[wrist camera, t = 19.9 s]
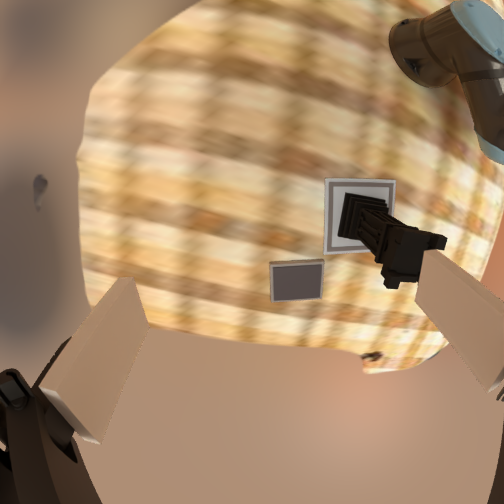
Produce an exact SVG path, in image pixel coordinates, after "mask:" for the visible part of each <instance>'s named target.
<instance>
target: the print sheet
mask: <svg viewBox="0 0 504 504" xmlns="http://www.w3.org/2000/svg"><path fill="white" fill-rule="evenodd" d="M395 189H396V180H388V179H360V178H325V218H324V247H323V255H326V254H344V253H361V252H371V251H370V250H369V249H368V248H367V247H366V246H365V245H364V244H363V243H362V242H361V241H360V240H351V239H348V238H343V237H338V236H337V234H338V229H339V224H340V219H341V213H342V208H343V202H344V197H345V192H346V193H352V194H358V195H364V196H369V197H375V198H380V199H384V200H386V202H385V203H387V207H388V208H389V212H388V214H389V215H391V216H392V217H393V216H394V204H395Z"/></svg>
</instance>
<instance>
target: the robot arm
mask: <svg viewBox="0 0 504 504" xmlns="http://www.w3.org/2000/svg"><path fill="white" fill-rule="evenodd" d="M389 44H390V48H391V52H392V54H393V56H394V59H395V60H396V62H397V64H398V65H399V67H400V68H401V69H402V70H403V72H404V73H405V74H406V75H407V76H408V77H409V78H411V79H412V80H413V81H415V82H416V83H418V84H420V85H422V86H424V87H428V88H436V87H441V86H444V85H446V84H448V83H449V82H450V81H451V80H452V79H453V78H454V77H456V76H457V75H458V76H459V79H460V81H461V84H462V87H463V90H464V93H465V96H466V99H467V102H468V105H469V108H470V112H471V115H472V119H473V122H474V130H475V132H476V134H477V137H478V141H479V145H480V148H481V150H482V151H483V153H484V154H485V155H486V156H487V157H488V158H489V159H491V160H493V161H494V162H497V163H499V164H502V165H504V20H503V19H502V18H501V16H500V15H499V14H498V13H496V12H495V11H494V10H493V9H492V8H491V7H490V6H488V5H487V4H486V3H484V2H482V1H480V0H460V1H454V2H452V3H451V4H450V5H448V6H446V7H444V8H442V9H440V10H438V11H436V12H434V13H433V14H431V15H429V16H427V17H426V18H416V19H405V20H402V21H400V22H399V23H397V24H396V25H395V26H394V27H393V28H392V29H391V31H390V35H389ZM495 78H497V79H495ZM484 79H486V80H484ZM475 80H477V81H475ZM469 81H470V82H469ZM415 302H416V303H417V305H418V306H419V307H420V308H421V309H422V310H423V312H424V313H425V314H426V315H427V316H428V317H429V319H430V320H431V321H432V322H433V323H434V324H435V326H436V327H437V328H438V329H439V330H440V332H441V333H442V334H443V335H444V337H445V338H446V339H447V340H448V342H449V343H450V344H451V345H452V347H453V348H454V349H455V350H456V351H457V353H458V354H459V355H460V357H461V358H462V360H463V361H464V362H465V364H466V365H467V366H468V368H469V369H470V370H471V372H472V373H473V375H474V376H475V377H476V379H477V380H478V382H479V383H480V384H481V386H482V387H483V389H484V390H485V392H486V393H488V392H490V391H491V390H493V389H495V388H496V387H498V386H499V384H500V383H501V381H502V380H503V378H504V302H503V301H502V300H501V299H500V298H498V297H497V296H496V295H495V294H494V293H492V292H491V291H490V290H489V289H487V288H486V287H485V286H484V285H483V284H481V283H480V282H479V281H478V280H476V279H475V278H474V277H473V276H471V275H470V274H469V273H467V272H466V271H465V270H464V269H462V268H461V267H460V266H458V265H457V264H456V263H454V262H453V261H451V260H450V259H449V258H447V257H446V256H445V255H443V254H442V253H440V252H439V251H437V250H436V249H435V250H427V251H424V256H423V262H422V268H421V273H420V278H419V283H418V288H417V293H416V297H415ZM149 328H150V327H149V324H148V321H147V318H146V316H145V313H144V310H143V306H142V303H141V300H140V297H139V294H138V291H137V287H136V284H135V280H134V277H123V278H118V279H117V281H116V282H115V283H114V284H113V285H112V287H111V288H110V289H109V290H108V291H107V293H106V294H105V295H104V296H103V298H102V299H101V300H100V301H99V303H98V304H97V305H96V306H95V308H94V309H93V310H92V311H91V313H90V314H89V315H88V317H87V318H86V319H85V320H84V322H83V323H82V325H81V326H80V327H79V329H78V330H77V331H76V333H75V334H74V335H73V337H70V338H69V339H67V340H66V341H65V342H64V343H63V344H61V346H60V347H59V348H58V350H57V351H56V352H55V355H53V357H52V358H51V360H50V363H48V364H47V365H46V367H45V368H44V370H43V371H42V373H41V374H40V376H39V377H38V379H37V380H36V382H35V383H34V385H33V386H32V388H30V387H29V385H28V384H27V382H26V381H25V379H24V378H23V377H22V375H21V374H20V372H19V371H18V370H16V369H12V368H11V369H6V370H4V371H3V372H1V373H0V441H1V442H2V443H3V444H4V445H5V446H6V450H5V451H3V450H2V449H1V448H0V504H102V502H101V500H100V498H99V496H98V494H97V492H96V490H95V488H94V486H93V484H92V481H91V479H90V477H89V474H88V472H87V470H86V467H85V465H84V462H83V459H82V457H81V454H80V452H79V449H78V446H77V443H76V441H75V440H74V438H73V437H72V435H73V433H74V431H76V432H77V433H78V434H79V435H80V436H81V438H82V439H83V440H86V441H90V442H93V443H97V444H102V441H103V438H104V435H105V433H106V430H107V427H108V425H109V422H110V419H111V417H112V414H113V412H114V409H115V407H116V404H117V402H118V399H119V397H120V394H121V392H122V389H123V387H124V384H125V382H126V380H127V377H128V375H129V373H130V371H131V368H132V366H133V363H134V361H135V359H136V357H137V355H138V352H139V350H140V348H141V346H142V343H143V341H144V339H145V337H146V335H147V333H148V330H149ZM503 394H504V387H503V389H502V390H501V392H500V393H499V394H498V396H497V399H496V400H499V399H500V397H501V396H502V395H503ZM501 401H504V397H503V398H502V400H501ZM487 504H504V424H503V434H502V441H501V448H500V454H499V459H498V464H497V469H496V475H495V478H494V482H493V486H492V489H491V493H490V496H489V500H488V503H487Z"/></svg>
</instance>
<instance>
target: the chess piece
mask: <svg viewBox="0 0 504 504" xmlns="http://www.w3.org/2000/svg"><path fill="white" fill-rule="evenodd" d="M385 202H386V200H384V199H380V198H375V197H369V196H364V195H358V194H352V193H346V192H345V197H344V202H343V208H342V213H341V219H340V224H339V229H338V234H337V236H338V237H343V238H348V239H351V240H360V241H361V242H362V243H363V244H364V245H365V246H366V247H367V248H368V249H369V250H370V251H371V252H372V253H373V254H374V255H375V256H376V257H375V260H374V261H375V262H376V263H380V264H383V267H382V270H381V275H382V276H383V277H384V278H385V280H384V283H383V284H384V285H385V286H386V288H387V289H398V287H399V284H400V282H413V283H416V281H417V282H418V283H419V278H420V273H421V268H422V262H423V256H424V251H427V250H435V249H438V250H444V249H445V245H446V242H447V238H446V237H445V236H443V235H440V234H435V233H434V234H433V233H431V232H427V231H421V230H419V229H418V228H417V227H412V226H407V225H405V224H404V223H402V222H401V221H399V220H397V219H396V218H394V217H392V216H391V215H389V214H388V212H389V208H388V207H387V203H385ZM417 286H418V285H417Z"/></svg>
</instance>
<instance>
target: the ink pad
mask: <svg viewBox="0 0 504 504" xmlns="http://www.w3.org/2000/svg"><path fill="white" fill-rule="evenodd" d="M323 277H324V260H323V259H314V260H297V261H279V262H270V292H271V302H285V301H300V300H313V299H322V291H323Z"/></svg>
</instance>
